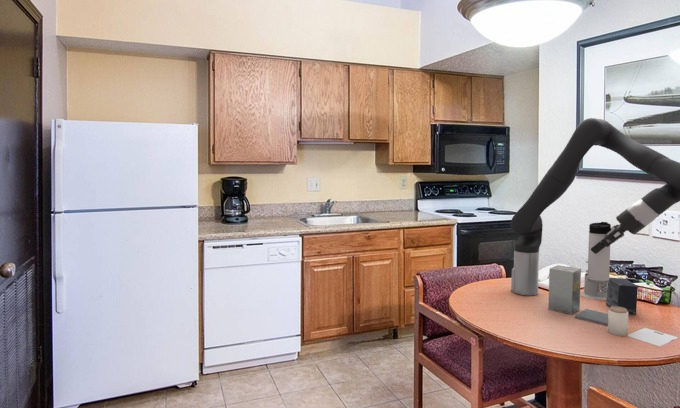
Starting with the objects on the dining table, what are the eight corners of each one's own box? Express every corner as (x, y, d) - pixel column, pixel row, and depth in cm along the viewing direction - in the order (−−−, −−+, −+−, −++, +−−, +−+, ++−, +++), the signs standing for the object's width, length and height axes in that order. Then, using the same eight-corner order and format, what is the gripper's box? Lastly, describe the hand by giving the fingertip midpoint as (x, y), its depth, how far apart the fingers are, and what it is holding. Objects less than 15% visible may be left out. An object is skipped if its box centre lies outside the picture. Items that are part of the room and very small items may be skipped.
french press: (576, 294, 176) (578, 232, 173) (591, 289, 182) (594, 229, 180) (601, 301, 168) (604, 236, 165) (617, 295, 174) (620, 232, 172)
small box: (637, 315, 152) (639, 285, 151) (616, 314, 154) (618, 285, 153) (624, 305, 163) (626, 277, 162) (605, 304, 164) (606, 277, 163)
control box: (547, 308, 160) (548, 268, 159) (555, 304, 165) (556, 264, 163) (572, 314, 154) (573, 272, 152) (580, 310, 158) (581, 269, 157)
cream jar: (605, 332, 138) (606, 308, 137) (610, 328, 141) (611, 304, 141) (624, 337, 134) (625, 312, 133) (629, 332, 138) (630, 308, 137)
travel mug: (613, 282, 148) (615, 222, 147) (603, 285, 145) (605, 224, 143) (593, 278, 154) (595, 221, 152) (584, 281, 150) (585, 222, 148)
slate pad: (574, 317, 151) (574, 315, 151) (586, 310, 157) (586, 308, 157) (607, 325, 143) (607, 323, 143) (617, 318, 150) (618, 315, 150)
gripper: (628, 205, 149) (586, 238, 156) (627, 210, 137) (582, 244, 144) (646, 222, 146) (603, 254, 154) (647, 228, 134) (601, 262, 142)
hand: (593, 249), depth 149 cm, fingers closed on travel mug, 6 cm apart
